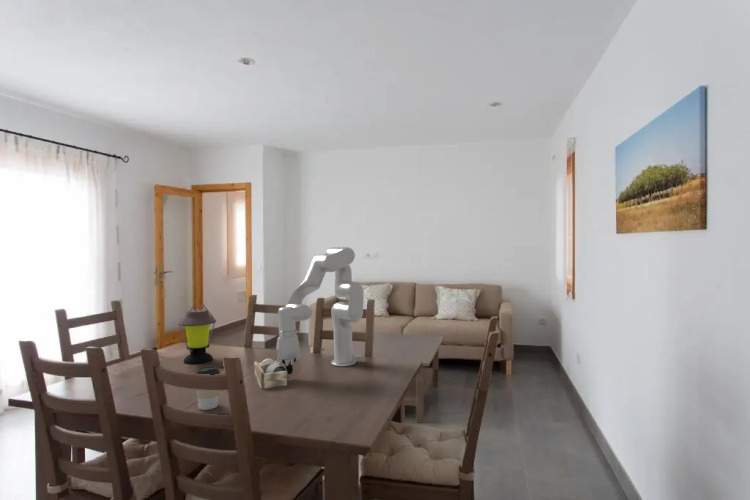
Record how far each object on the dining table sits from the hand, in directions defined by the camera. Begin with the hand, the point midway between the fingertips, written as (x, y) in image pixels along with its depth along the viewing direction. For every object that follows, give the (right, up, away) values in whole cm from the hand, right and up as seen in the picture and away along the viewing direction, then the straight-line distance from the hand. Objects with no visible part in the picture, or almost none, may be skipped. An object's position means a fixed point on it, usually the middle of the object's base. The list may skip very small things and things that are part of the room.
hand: (289, 373), depth 203 cm
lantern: (-56, -4, +36) cm, 67 cm away
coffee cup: (-25, -4, -33) cm, 41 cm away
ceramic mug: (-6, -3, -3) cm, 8 cm away
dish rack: (-8, -3, -2) cm, 9 cm away
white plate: (-11, -3, +5) cm, 13 cm away
